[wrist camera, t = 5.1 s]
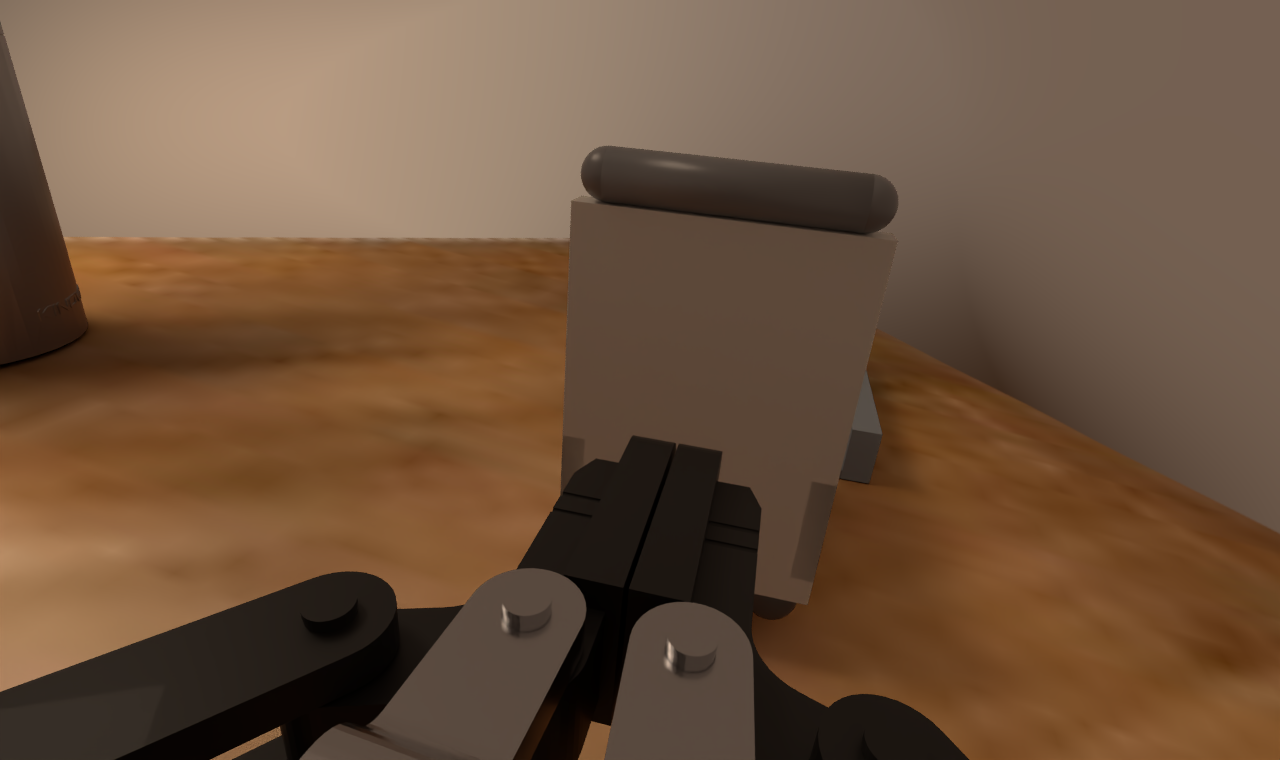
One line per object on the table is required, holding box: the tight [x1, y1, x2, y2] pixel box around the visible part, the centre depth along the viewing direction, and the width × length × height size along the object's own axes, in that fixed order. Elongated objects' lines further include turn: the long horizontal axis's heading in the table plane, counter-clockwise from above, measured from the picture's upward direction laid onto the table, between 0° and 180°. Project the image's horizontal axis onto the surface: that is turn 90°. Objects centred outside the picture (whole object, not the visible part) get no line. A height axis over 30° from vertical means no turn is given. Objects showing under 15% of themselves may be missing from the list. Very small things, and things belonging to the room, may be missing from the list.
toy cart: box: [561, 146, 898, 620], centre depth 20 cm, size 7×10×13 cm
